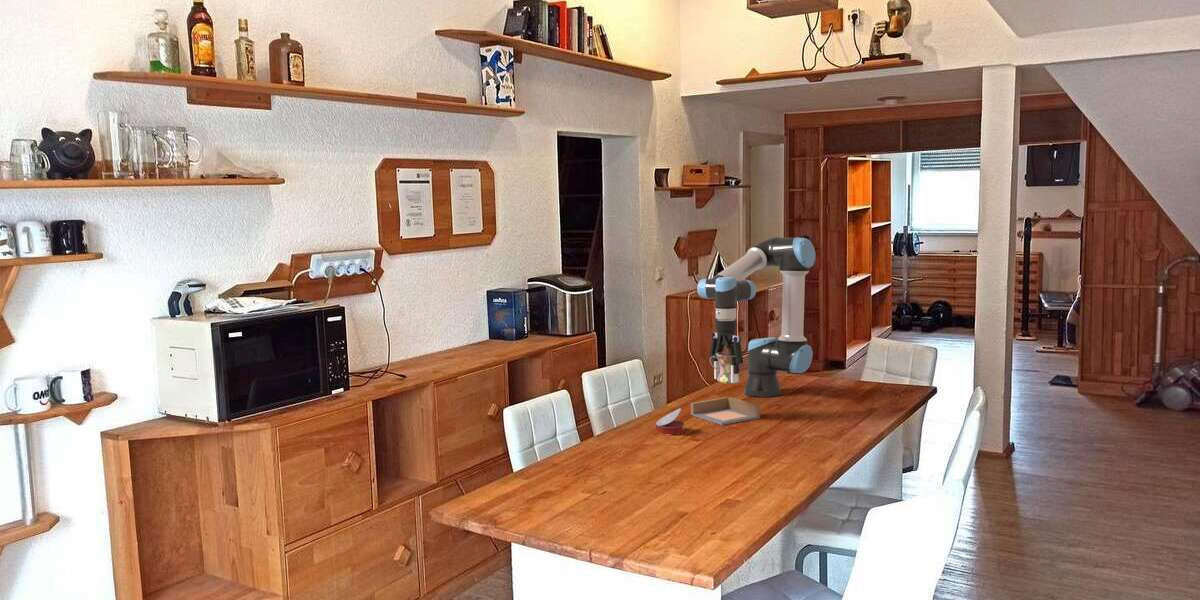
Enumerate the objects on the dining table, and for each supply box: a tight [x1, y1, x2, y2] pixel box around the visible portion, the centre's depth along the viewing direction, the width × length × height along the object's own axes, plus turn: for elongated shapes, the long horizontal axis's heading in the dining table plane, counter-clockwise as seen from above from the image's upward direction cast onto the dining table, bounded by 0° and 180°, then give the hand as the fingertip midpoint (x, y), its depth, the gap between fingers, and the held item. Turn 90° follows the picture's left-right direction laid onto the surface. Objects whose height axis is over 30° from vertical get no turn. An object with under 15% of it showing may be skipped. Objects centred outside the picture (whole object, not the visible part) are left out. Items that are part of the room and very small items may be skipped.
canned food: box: [655, 408, 685, 435], centre depth 319 cm, size 11×10×10 cm
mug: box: [709, 351, 742, 385], centre depth 335 cm, size 12×9×11 cm
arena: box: [690, 396, 761, 426], centre depth 339 cm, size 18×18×5 cm
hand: (726, 380), depth 335 cm, fingers closed on mug, 9 cm apart
